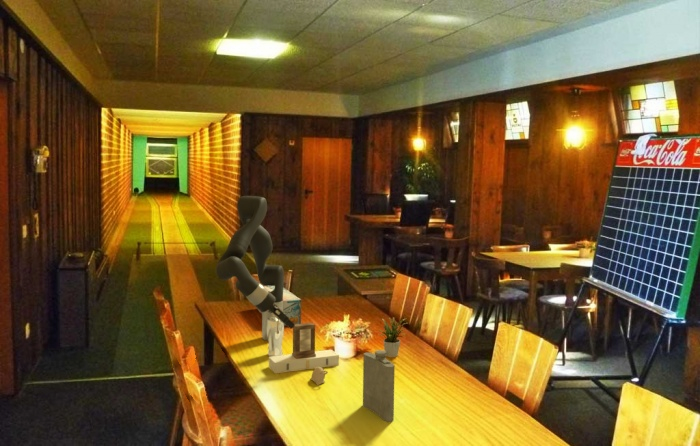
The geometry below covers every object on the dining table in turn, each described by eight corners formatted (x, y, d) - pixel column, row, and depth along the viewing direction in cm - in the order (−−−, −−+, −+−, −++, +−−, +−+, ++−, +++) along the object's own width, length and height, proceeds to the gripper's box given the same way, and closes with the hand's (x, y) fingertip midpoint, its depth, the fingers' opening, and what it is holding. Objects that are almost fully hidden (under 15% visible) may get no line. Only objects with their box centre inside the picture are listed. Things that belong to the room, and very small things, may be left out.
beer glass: (280, 357, 258) (280, 321, 256) (264, 356, 259) (264, 320, 257) (285, 352, 264) (286, 317, 263) (269, 351, 266) (270, 316, 264)
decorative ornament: (320, 377, 234) (320, 363, 234) (329, 385, 227) (329, 370, 226) (309, 379, 233) (309, 365, 232) (318, 386, 225) (319, 372, 225)
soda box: (302, 325, 309) (302, 299, 308) (274, 327, 304) (274, 301, 303) (280, 307, 347) (280, 284, 346) (255, 309, 342) (255, 285, 341)
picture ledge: (275, 373, 238) (275, 363, 238) (268, 366, 246) (268, 356, 245) (338, 365, 249) (339, 355, 248) (331, 359, 256) (331, 349, 256)
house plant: (416, 353, 266) (417, 314, 264) (405, 362, 254) (406, 322, 252) (385, 348, 272) (385, 311, 270) (372, 357, 259) (373, 318, 258)
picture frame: (296, 359, 243) (296, 327, 242) (292, 355, 248) (292, 324, 246) (315, 356, 246) (316, 325, 245) (311, 353, 251) (311, 322, 250)
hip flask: (361, 405, 209) (361, 345, 207) (371, 403, 210) (372, 344, 209) (386, 422, 195) (387, 359, 193) (397, 420, 197) (399, 357, 195)
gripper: (272, 293, 232) (302, 321, 238) (261, 286, 245) (289, 312, 250) (258, 308, 230) (288, 336, 236) (248, 300, 243) (277, 327, 249)
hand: (289, 324), depth 243 cm, fingers open, 8 cm apart
